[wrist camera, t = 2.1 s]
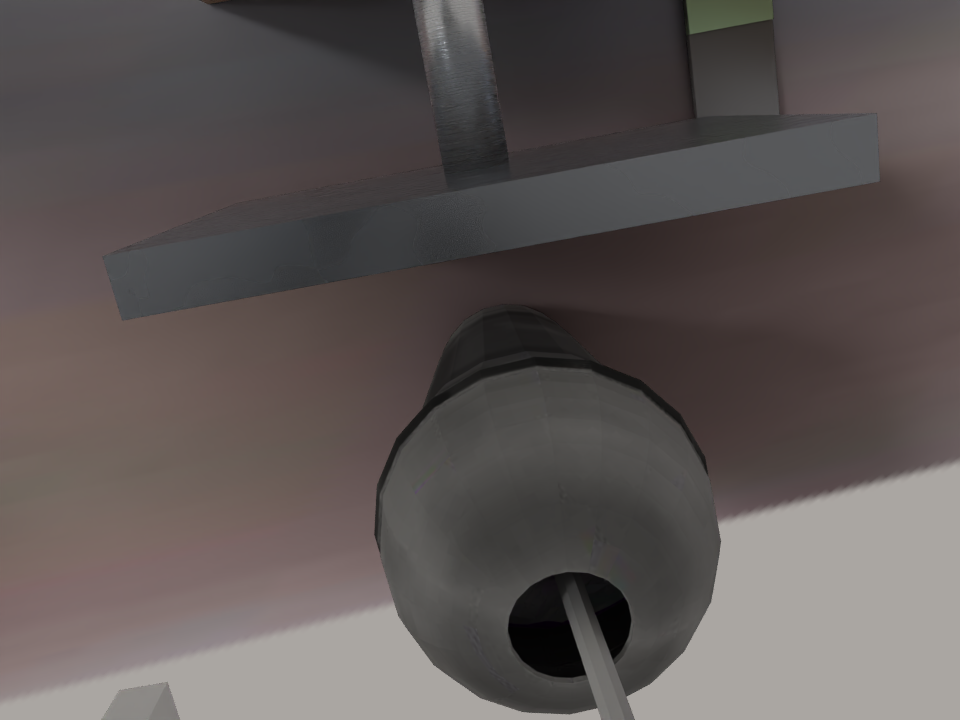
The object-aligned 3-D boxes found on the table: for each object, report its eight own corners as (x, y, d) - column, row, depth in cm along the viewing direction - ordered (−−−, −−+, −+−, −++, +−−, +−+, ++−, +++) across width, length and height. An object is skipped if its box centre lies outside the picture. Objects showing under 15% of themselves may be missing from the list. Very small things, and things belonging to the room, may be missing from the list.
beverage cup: (521, 217, 28) (692, 443, 8) (654, 377, 29) (1050, 870, 10) (357, 357, 29) (174, 842, 9) (495, 504, 30) (576, 1166, 11)
